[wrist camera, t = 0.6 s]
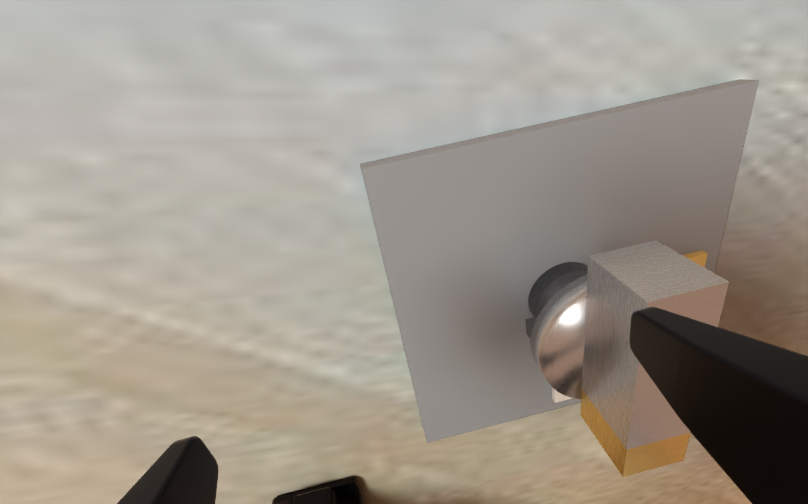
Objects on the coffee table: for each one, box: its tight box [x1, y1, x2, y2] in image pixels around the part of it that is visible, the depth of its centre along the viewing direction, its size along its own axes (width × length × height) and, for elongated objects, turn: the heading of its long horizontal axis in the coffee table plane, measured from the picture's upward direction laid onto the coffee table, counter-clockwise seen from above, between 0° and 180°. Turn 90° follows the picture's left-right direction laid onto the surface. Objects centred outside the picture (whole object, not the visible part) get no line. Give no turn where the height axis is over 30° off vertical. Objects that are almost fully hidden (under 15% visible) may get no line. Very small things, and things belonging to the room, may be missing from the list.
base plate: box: [360, 80, 759, 443], centre depth 23 cm, size 20×20×1 cm
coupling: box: [530, 240, 729, 477], centre depth 18 cm, size 10×7×5 cm
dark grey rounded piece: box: [525, 262, 588, 338], centre depth 22 cm, size 4×6×3 cm
